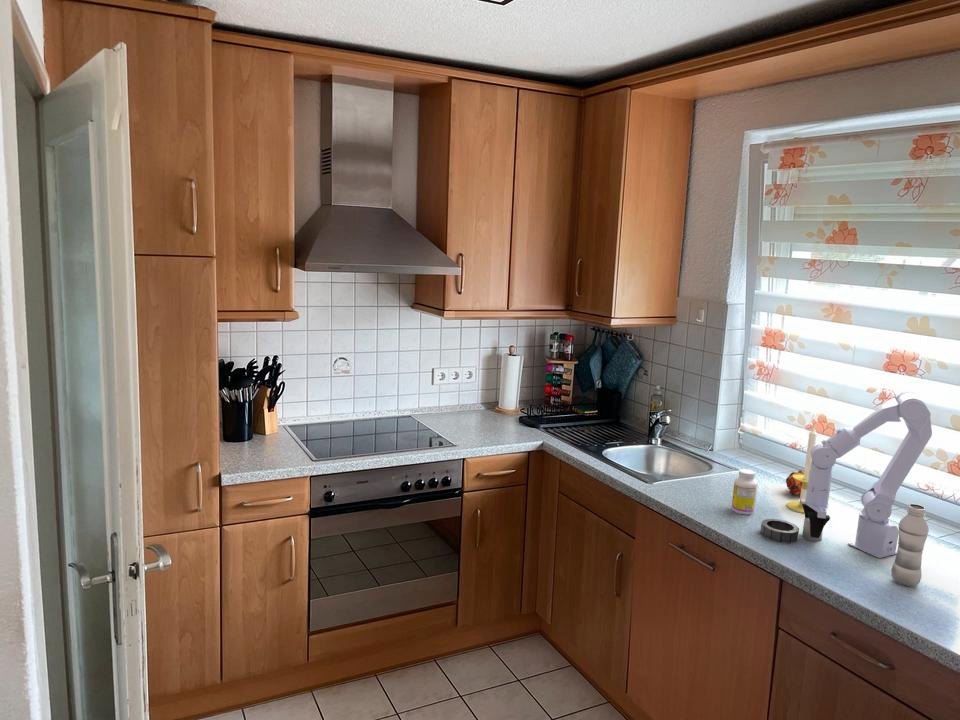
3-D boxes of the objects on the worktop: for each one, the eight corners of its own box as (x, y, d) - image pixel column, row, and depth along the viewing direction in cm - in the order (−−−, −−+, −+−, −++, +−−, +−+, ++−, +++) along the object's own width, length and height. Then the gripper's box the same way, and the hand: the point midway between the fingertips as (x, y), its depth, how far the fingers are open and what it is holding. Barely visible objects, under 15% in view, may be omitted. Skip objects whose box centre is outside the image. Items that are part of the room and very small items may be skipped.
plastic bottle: (892, 586, 175) (904, 509, 172) (887, 574, 182) (899, 499, 178) (922, 592, 173) (935, 514, 170) (916, 580, 179) (929, 504, 176)
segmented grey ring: (804, 539, 201) (806, 529, 200) (780, 545, 196) (782, 534, 196) (777, 526, 209) (778, 517, 209) (753, 531, 205) (754, 521, 204)
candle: (782, 508, 224) (792, 424, 220) (790, 499, 232) (801, 419, 227) (816, 516, 218) (828, 431, 214) (823, 507, 226) (835, 425, 222)
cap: (825, 539, 201) (827, 522, 201) (813, 542, 199) (815, 525, 198) (810, 533, 206) (812, 516, 205) (798, 535, 204) (800, 518, 203)
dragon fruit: (807, 494, 242) (794, 508, 234) (787, 475, 245) (773, 488, 237) (824, 480, 237) (811, 493, 228) (804, 461, 240) (790, 473, 232)
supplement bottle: (735, 505, 225) (740, 466, 222) (757, 511, 221) (762, 471, 218) (727, 511, 220) (732, 471, 217) (749, 517, 216) (754, 476, 213)
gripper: (798, 477, 208) (792, 521, 210) (808, 494, 194) (802, 541, 196) (824, 480, 206) (818, 524, 209) (837, 497, 192) (830, 544, 195)
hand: (812, 532), depth 202 cm, fingers open, 5 cm apart
